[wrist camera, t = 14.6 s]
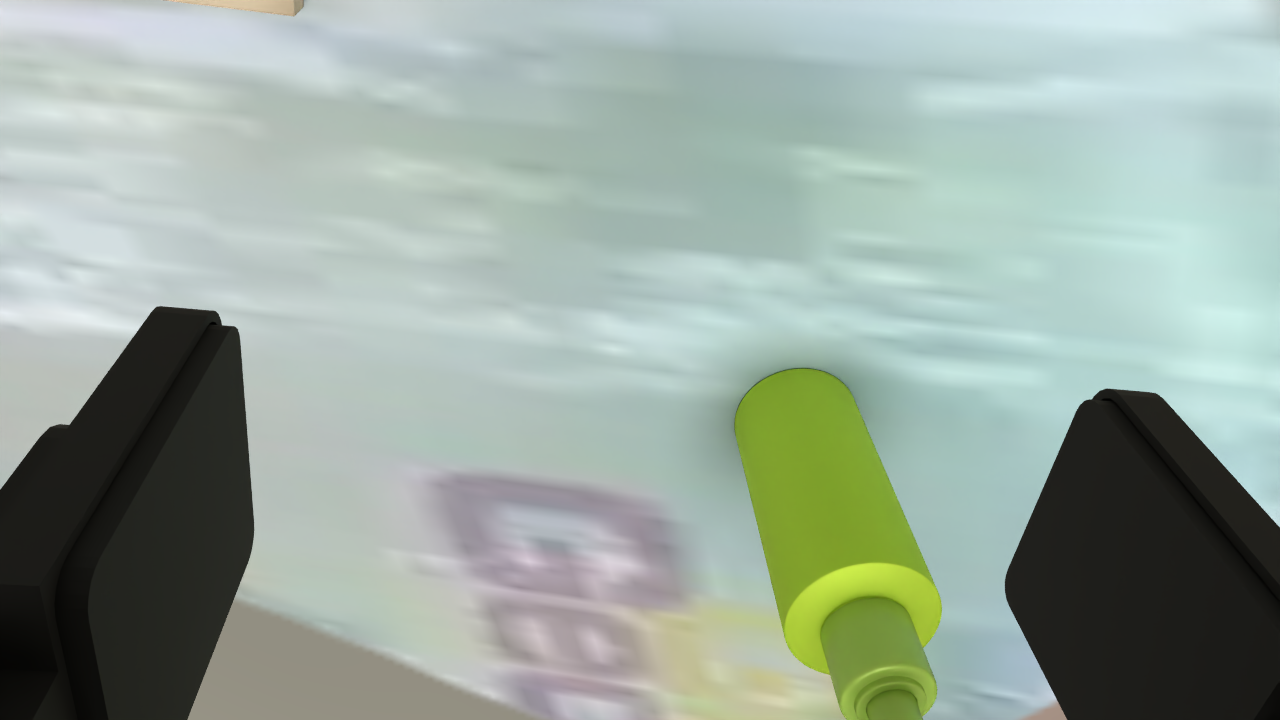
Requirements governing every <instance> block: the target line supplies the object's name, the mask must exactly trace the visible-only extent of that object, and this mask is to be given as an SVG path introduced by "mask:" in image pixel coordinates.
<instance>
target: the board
mask: <svg viewBox="0 0 1280 720" xmlns="http://www.w3.org/2000/svg"><path fill="white" fill-rule="evenodd" d="M165 1H173V2H182V3H190V4H198V5H206V6H214V7H222V8H231V9H239V10H247V11H255V12H263V13H271V14H280V15H288V16H295V15H296V14H297V13H298V12H299V11H300V10H301V9H302V8H303V0H165Z"/></svg>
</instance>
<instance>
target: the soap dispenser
mask: <svg viewBox="0 0 1280 720" xmlns="http://www.w3.org/2000/svg"><path fill="white" fill-rule="evenodd" d="M734 425H735V435H736V439H737V443H738V447H739V451H740V455H741V459H742V463H743V468H744V472H745V476H746V480H747V484H748V488H749V492H750V496H751V500H752V505H753V509H754V513H755V517H756V521H757V525H758V529H759V533H760V538H761V542H762V546H763V550H764V554H765V558H766V562H767V566H768V570H769V575H770V579H771V583H772V587H773V591H774V595H775V599H776V603H777V607H778V612H779V616H780V620H781V624H782V628H783V632H784V636H785V640H786V643H787V645H788V647H789V649H790V651H791V652H792V653H793V655H794V656H795V657H796V658H797V659H798V660H799V661H800V662H802V663H803V664H804V665H806V666H808V667H809V668H811V669H814V670H816V671H818V672H821V673H825V674H829V675H831V679H832V683H833V686H834V690H835V693H836V697H837V700H838V704H839V707H840V710H841V712H842V714H843V715H844V717H845V718H846V719H847V720H923V718H922V716H924V715H925V714H926V713H927V712H928V711H929V710H930V708H931V707H932V705H933V704H934V702H935V699H936V696H937V685H936V681H935V678H934V675H933V673H932V670H931V668H930V665H929V663H928V660H927V657H926V655H925V652H924V650H923V648H924V647H925V646H926V644H927V643H928V642H929V641H930V640H931V638H932V637H933V635H934V634H935V632H936V630H937V628H938V625H939V623H940V619H941V613H942V605H941V599H940V596H939V593H938V591H937V588H936V586H935V584H934V582H933V579H932V577H931V575H930V572H929V570H928V568H927V566H926V563H925V561H924V559H923V556H922V554H921V552H920V549H919V547H918V545H917V543H916V540H915V538H914V536H913V533H912V531H911V529H910V527H909V524H908V522H907V520H906V517H905V515H904V513H903V510H902V508H901V506H900V504H899V501H898V499H897V497H896V494H895V492H894V490H893V487H892V485H891V483H890V481H889V478H888V476H887V474H886V471H885V469H884V467H883V465H882V462H881V460H880V458H879V455H878V453H877V451H876V448H875V446H874V444H873V442H872V439H871V437H870V435H869V432H868V430H867V428H866V426H865V423H864V421H863V419H862V416H861V414H860V412H859V409H858V407H857V405H856V403H855V400H854V398H853V396H852V394H851V392H850V391H849V389H848V388H847V387H846V386H845V385H844V383H842V382H841V381H840V380H839V379H837V378H836V377H834V376H832V375H830V374H828V373H826V372H823V371H819V370H814V369H791V370H786V371H782V372H779V373H776V374H773V375H771V376H769V377H767V378H765V379H764V380H762V381H760V382H759V383H758V384H756V385H755V386H754V387H753V388H752V389H751V390H750V391H749V392H748V393H747V394H746V395H745V397H744V398H743V400H742V401H741V403H740V405H739V407H738V409H737V412H736V416H735V424H734Z"/></svg>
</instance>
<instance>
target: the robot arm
mask: <svg viewBox="0 0 1280 720" xmlns="http://www.w3.org/2000/svg"><path fill="white" fill-rule="evenodd" d="M253 538H254V516H253V503H252V490H251V477H250V464H249V451H248V438H247V424H246V411H245V398H244V385H243V372H242V359H241V345H240V337H239V332H238V329H237V328H236V327H234V326H223V325H222V323H221V319H220V317H219V314H218V313H217V312H216V311H209V310H198V309H186V308H175V307H163V306H160V307H156V308H155V309H154V310H153V311H152V312H151V313H150V315H149V316H148V318H147V319H146V320H145V322H144V323H143V325H142V326H141V327H140V329H139V330H138V331H137V333H136V334H135V336H134V337H133V338H132V340H131V341H130V342H129V344H128V345H127V347H126V348H125V349H124V351H123V352H122V353H121V355H120V356H119V358H118V359H117V360H116V362H115V363H114V365H113V366H112V367H111V369H110V370H109V371H108V373H107V374H106V376H105V377H104V378H103V380H102V381H101V382H100V384H99V385H98V387H97V388H96V389H95V391H94V392H93V394H92V395H91V396H90V398H89V399H88V400H87V402H86V403H85V405H84V406H83V407H82V409H81V410H80V411H79V413H78V414H77V416H76V417H75V418H74V420H73V421H72V423H71V424H70V425H62V424H59V425H56V426H52V427H50V428H49V429H48V430H47V431H46V432H45V433H44V434H43V435H42V436H41V437H40V438H39V439H38V440H37V442H36V443H35V444H34V446H33V447H32V448H31V450H30V451H29V452H28V454H27V455H26V456H25V458H24V459H23V460H22V462H21V463H20V464H19V466H18V467H17V468H16V470H15V471H14V472H13V474H12V475H11V476H10V478H9V479H8V480H7V482H6V483H5V484H4V486H3V487H2V488H1V490H0V720H187V719H188V716H189V713H190V711H191V708H192V706H193V703H194V701H195V698H196V696H197V693H198V690H199V688H200V685H201V682H202V680H203V677H204V675H205V672H206V669H207V667H208V664H209V662H210V659H211V657H212V654H213V652H214V649H215V646H216V644H217V641H218V638H219V636H220V634H221V631H222V628H223V626H224V623H225V621H226V618H227V615H228V613H229V610H230V608H231V605H232V603H233V600H234V597H235V595H236V592H237V590H238V587H239V584H240V582H241V579H242V577H243V574H244V572H245V569H246V566H247V564H248V561H249V558H250V555H251V550H252V545H253ZM1005 593H1006V599H1007V601H1008V604H1009V606H1010V608H1011V610H1012V612H1013V614H1014V616H1015V618H1016V620H1017V622H1018V624H1019V626H1020V628H1021V630H1022V632H1023V634H1024V636H1025V638H1026V640H1027V642H1028V644H1029V646H1030V648H1031V650H1032V652H1033V653H1034V655H1035V657H1036V659H1037V661H1038V663H1039V665H1040V667H1041V669H1042V671H1043V673H1044V675H1045V677H1046V679H1047V681H1048V683H1049V685H1050V687H1051V689H1052V691H1053V693H1054V695H1055V697H1056V699H1057V701H1058V702H1059V704H1060V706H1061V708H1062V710H1063V712H1064V714H1065V716H1066V718H1067V720H1280V527H1279V526H1278V525H1277V524H1276V523H1275V522H1274V521H1273V520H1272V519H1271V518H1270V516H1269V515H1268V514H1267V513H1266V512H1265V511H1264V510H1263V509H1262V508H1261V506H1260V505H1259V504H1258V503H1257V502H1256V501H1255V500H1254V499H1253V498H1252V496H1251V495H1250V494H1249V493H1248V492H1247V491H1246V490H1245V489H1244V488H1243V487H1242V485H1241V484H1240V483H1239V482H1238V481H1237V480H1236V479H1235V478H1234V477H1233V475H1232V474H1231V473H1230V472H1229V471H1228V470H1227V469H1226V468H1225V467H1224V466H1223V464H1222V463H1221V462H1220V461H1219V460H1218V459H1217V458H1216V457H1215V456H1214V454H1213V453H1212V452H1211V451H1210V450H1209V449H1208V448H1207V447H1206V446H1205V444H1204V443H1203V442H1202V441H1201V440H1200V439H1199V438H1198V437H1197V436H1196V435H1195V433H1194V432H1193V431H1192V430H1191V429H1190V428H1189V427H1188V426H1187V425H1186V423H1185V422H1184V421H1183V420H1182V419H1181V418H1180V417H1179V416H1178V415H1177V413H1176V412H1175V411H1174V410H1173V409H1172V408H1171V407H1170V406H1169V405H1168V404H1167V402H1166V401H1165V400H1164V399H1163V398H1162V397H1160V396H1159V395H1158V394H1156V393H1150V392H1140V391H1129V390H1117V389H1104V390H1101V391H1099V392H1098V393H1097V394H1096V395H1095V396H1094V397H1093V399H1092V400H1086V401H1084V402H1083V403H1082V404H1081V405H1080V406H1079V408H1078V409H1077V411H1076V413H1075V416H1074V418H1073V420H1072V423H1071V425H1070V427H1069V430H1068V432H1067V434H1066V437H1065V439H1064V441H1063V443H1062V446H1061V448H1060V450H1059V453H1058V455H1057V457H1056V460H1055V462H1054V464H1053V467H1052V469H1051V471H1050V473H1049V476H1048V478H1047V480H1046V483H1045V485H1044V487H1043V490H1042V492H1041V494H1040V497H1039V499H1038V501H1037V504H1036V506H1035V508H1034V510H1033V513H1032V515H1031V517H1030V520H1029V522H1028V524H1027V527H1026V529H1025V531H1024V534H1023V536H1022V538H1021V540H1020V543H1019V545H1018V547H1017V550H1016V552H1015V554H1014V557H1013V559H1012V561H1011V564H1010V566H1009V568H1008V571H1007V574H1006V579H1005Z"/></svg>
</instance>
